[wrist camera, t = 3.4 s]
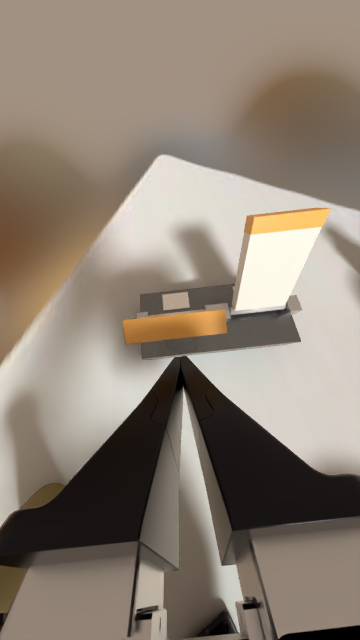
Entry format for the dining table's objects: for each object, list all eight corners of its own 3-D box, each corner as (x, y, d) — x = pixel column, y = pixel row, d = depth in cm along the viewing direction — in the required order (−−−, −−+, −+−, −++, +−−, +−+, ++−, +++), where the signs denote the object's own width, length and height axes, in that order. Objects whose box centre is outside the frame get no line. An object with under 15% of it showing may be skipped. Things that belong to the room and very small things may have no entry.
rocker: (203, 319, 19) (232, 332, 8) (152, 325, 19) (120, 344, 8) (202, 308, 18) (230, 308, 8) (151, 314, 19) (117, 321, 8)
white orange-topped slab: (284, 311, 18) (334, 208, 11) (231, 317, 18) (250, 217, 11) (277, 305, 19) (320, 207, 12) (227, 311, 19) (243, 216, 12)
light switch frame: (285, 344, 21) (313, 338, 16) (147, 359, 21) (137, 358, 16) (267, 289, 23) (287, 271, 19) (145, 303, 24) (136, 288, 19)
